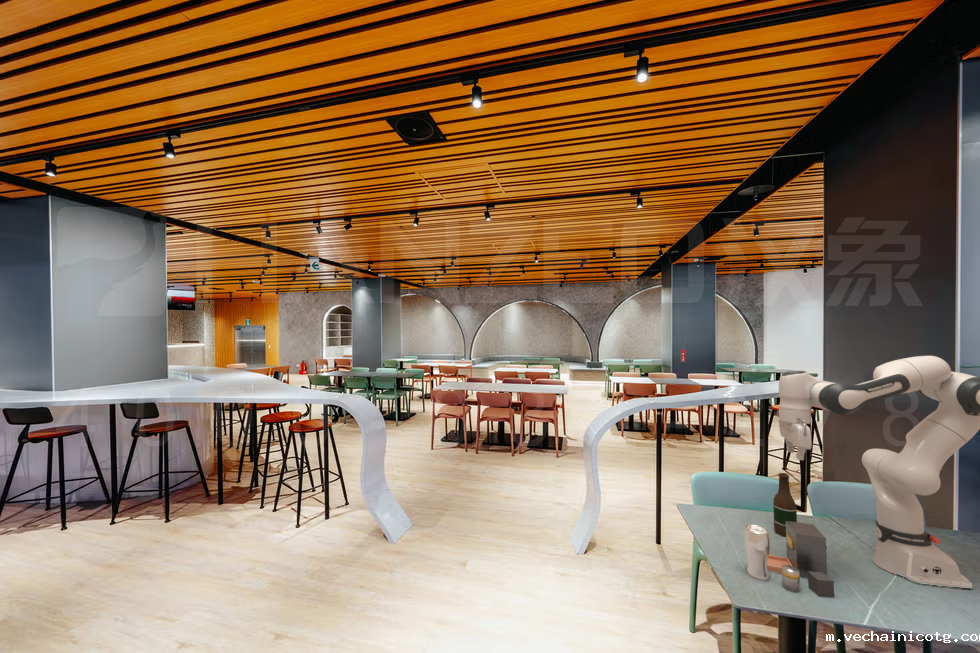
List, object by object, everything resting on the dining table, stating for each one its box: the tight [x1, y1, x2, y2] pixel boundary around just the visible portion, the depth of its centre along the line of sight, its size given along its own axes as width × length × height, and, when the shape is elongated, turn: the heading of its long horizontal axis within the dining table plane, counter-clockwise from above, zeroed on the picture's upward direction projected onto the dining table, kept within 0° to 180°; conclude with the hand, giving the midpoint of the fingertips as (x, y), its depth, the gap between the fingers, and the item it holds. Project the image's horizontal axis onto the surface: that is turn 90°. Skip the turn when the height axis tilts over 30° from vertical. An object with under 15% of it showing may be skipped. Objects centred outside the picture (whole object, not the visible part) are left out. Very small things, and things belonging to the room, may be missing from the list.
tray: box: [767, 554, 793, 574], centre depth 132 cm, size 8×8×2 cm
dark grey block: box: [785, 521, 828, 579], centre depth 130 cm, size 9×10×14 cm
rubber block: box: [807, 571, 835, 599], centre depth 119 cm, size 4×4×5 cm
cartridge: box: [781, 565, 801, 593], centre depth 121 cm, size 5×5×6 cm
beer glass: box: [743, 524, 771, 581], centre depth 128 cm, size 7×7×15 cm
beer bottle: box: [772, 472, 798, 538], centre depth 156 cm, size 8×8×24 cm
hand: (795, 455), depth 135 cm, fingers open, 8 cm apart
